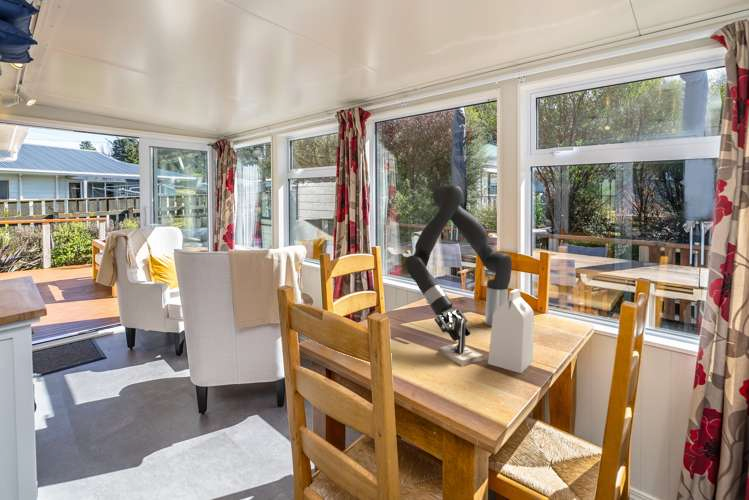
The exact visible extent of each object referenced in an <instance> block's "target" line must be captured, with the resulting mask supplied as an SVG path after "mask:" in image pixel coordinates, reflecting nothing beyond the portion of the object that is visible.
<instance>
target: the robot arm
mask: <svg viewBox="0 0 749 500" xmlns="http://www.w3.org/2000/svg"><path fill="white" fill-rule="evenodd" d="M432 198H433V201H434V204H435V205H436V206H437V208H438V209H439V210H438V212H437V213H436V215H435V216H434V217H433V218H432V219H431V220H430V221H429V222H428V223H427V224H426V226H425V227H424V228H423V229H422V231H421V233H420V235H419V237H418V239H417V241H416V242H415V246H414V249H415V250H414V253H413V254H412V255H409V256H408V257H407V258H406V259H405V261H404V268H405V270H406V271H407V273H408V274H409V275H410V277H411V278H412V279H413V281H414V282H415V284H416V285H417V287H418V289H419V291H420V292H421V293H422V295H423V296H424V298H425V300H426V302H427V303H428V305H429V307H430V308H431V310H432V311H433V313H434V314H435V316H436V317H434V321H435V323H436V324H437V326H438V327H439V329H440V330H441V332H442V333H446V334H448V335H449V336H450V338H451V339H452V341H453V342H457V341H458V339H459V337H458V336H457V334H456V333H455V331H454V327H453V325H454V323H455V321H456V319H458V318H460V319H466V324H467V323H468V319H467V318H466V316H465V314H464V313H463V312H462V310H461V309H460V308H457V309H454V308H453V306H454V304H453V302H452V301H451V300H450V297H449V296H448V295H447V293H446V292H445V290H444V289H443V288H442V286H440V284H439V283H438V281H437V280H436V279H435V278H434V276H433V275H432V274H431V273H430V272H429V270H428V269H427V267H428V264H429V261H430V258H431V253H432V252H433V250H434V248H435V246H436V244H437V241H438V240H439V237H440V236H441V234H442V233H443V231H444V229H445V228H446V226H447V224H448V223H449V221H451V222H452V223H453V225H454V226H455V228H456V229H457V230H458V232H460V235H461V236H462V237H463V238H464V240H466V242H467V243H468V244H469V245H470V247H471V248H472V250H473V251H474V252H475V253H476V254H477V256H478V258H479V259H480V261H481V263H482V265H483V266H484V267H485V269H486V270H487V271H489V272H492V273H495V275H494V278H493V279H489V280H488V281H487V283H486V297H485V298H486V302H485V317H484V318H485V319H484V324H485V325H487V326H489V327H492V321H493V314H494V312H495V310H496V309H498V308H499V307H500V306H502V305H503V304H504V303H506V302H507V301H508V299H509V295H508V294H509V292H508V291H509V286H510V285H509V284H510V283H511V282H510V281H511V278H512V276H511V275H512V267H513V261H512V257H511V255H509V254H508V253H503V252H498V251H495V250H494V249H493V248H492V247H491V246H490V244H489V243H488V232H487V230H486V229H485V227H484V226H483V224H482V223H481V222H480V220H479V219H478V218H476V217H475V216H474V215H473V214H471V213H470V212H469V211H467V210H465V209H464V208H463V207H462V206H461V204H462V201H463V199H464V193H463V190H462V188H461V187H460V186H458V185H457V184H456V185H453V184H445V185H439V186H437V187H436V188H435V189H434V190H433V193H432ZM470 335H471V331H470V329H469V328H468V326H467V325H466V335H465V337H468V336H470Z"/></svg>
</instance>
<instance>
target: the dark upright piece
mask: <svg viewBox="0 0 749 500" xmlns="http://www.w3.org/2000/svg"><path fill="white" fill-rule="evenodd" d="M466 319H467V318H466ZM466 319H463V318H462V319H460V318H458V319H456V321H455V323H453V330H454V331H455V333H456V334H457V336H458V337H459V339H458V340H457V341H458V342H457V343H458V344H457V343H456V344H457V345H456V347H455V352H458V353H463V351H464V348H465V346H466V326H467V323H466Z"/></svg>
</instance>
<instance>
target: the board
mask: <svg viewBox="0 0 749 500" xmlns="http://www.w3.org/2000/svg"><path fill="white" fill-rule="evenodd" d="M457 344H458V342H457V343H453V344H449V345H444V346H440V347H437V349H438V351H437V353H438V354H440V355H442V356H444V357H445V358H447V359H448V360H451V361H452V362H454V363H456V364H458V365H460V366H461V367H463V366H467V365H470V364H475V363H479V362H482V361H484V357H485V356H484V354H482V353H480V352H478V351H477V350H475V349H473V348H470V347H468V346H466V345H465V348H464V351H463V353H458V352H455V347H456V345H457Z"/></svg>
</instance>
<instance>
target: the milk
mask: <svg viewBox="0 0 749 500" xmlns="http://www.w3.org/2000/svg"><path fill="white" fill-rule="evenodd" d="M508 294H509V295H508V298H507V302H506V303H504V304H503V305H502V306H500V307H499V308H498V309H496V310H495V312H494V314H493V321H492V326H491V331H490V342H489V351H488V360H487V364H488V365H491V366H494V367H498V368H502V369H505V370H509V371H512V372H516V373H519V374H522V373H523V372H524V371H525V370H526V369H527V368H528V367H529V366H531V364H532V363H533V361H534V325H535V324H534V321H535V318H534V316H535V313H534V310H533V309H532V307H531V306H530V305H529V303H528V302H526V301H525V300H524V299H523V297H521V290H520V289H518V288H515V289H512V290H511V291H509V292H508Z"/></svg>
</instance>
